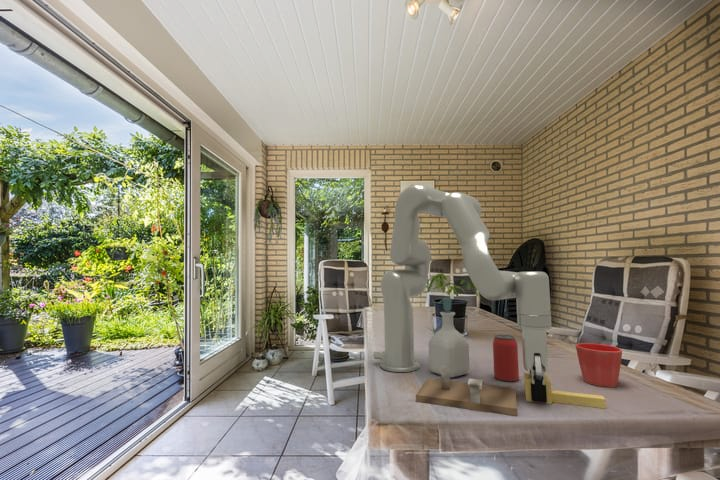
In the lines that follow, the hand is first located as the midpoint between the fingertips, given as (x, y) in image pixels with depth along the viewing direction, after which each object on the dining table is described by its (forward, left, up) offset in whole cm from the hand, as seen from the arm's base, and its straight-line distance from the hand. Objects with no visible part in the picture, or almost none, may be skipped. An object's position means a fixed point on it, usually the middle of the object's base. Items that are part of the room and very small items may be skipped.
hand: (537, 396), depth 83 cm
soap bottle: (-23, +13, -1) cm, 26 cm away
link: (+5, 0, 0) cm, 5 cm away
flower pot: (+17, +20, -1) cm, 26 cm away
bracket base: (-16, -6, 0) cm, 17 cm away
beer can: (-7, +14, -1) cm, 16 cm away
